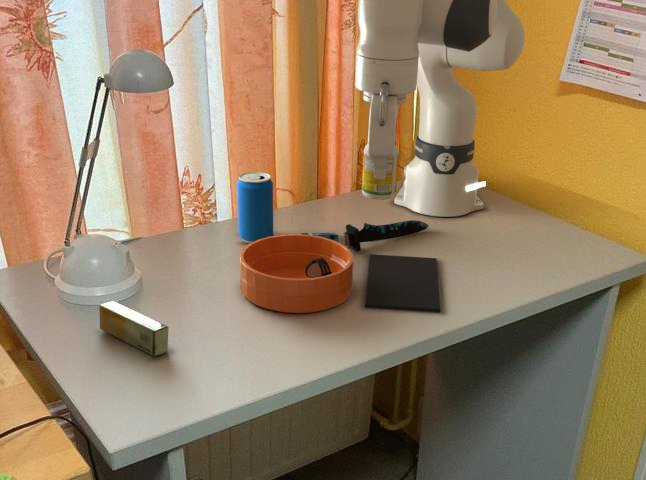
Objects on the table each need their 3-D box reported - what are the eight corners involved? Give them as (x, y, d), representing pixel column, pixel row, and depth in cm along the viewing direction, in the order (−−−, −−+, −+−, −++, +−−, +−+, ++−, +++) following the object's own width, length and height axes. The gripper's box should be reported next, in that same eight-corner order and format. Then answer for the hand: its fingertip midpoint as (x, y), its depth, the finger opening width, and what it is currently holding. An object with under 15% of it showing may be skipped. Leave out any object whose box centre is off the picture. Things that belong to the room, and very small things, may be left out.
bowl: (251, 263, 139) (250, 231, 136) (354, 269, 139) (356, 237, 135) (231, 311, 124) (230, 276, 120) (348, 318, 123) (350, 283, 120)
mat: (369, 257, 143) (369, 254, 143) (436, 261, 143) (436, 258, 143) (364, 307, 126) (365, 304, 126) (440, 312, 126) (440, 309, 126)
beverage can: (279, 241, 148) (279, 179, 142) (248, 248, 145) (247, 184, 138) (262, 230, 152) (261, 168, 146) (232, 236, 149) (230, 174, 143)
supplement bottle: (382, 203, 119) (386, 139, 114) (354, 194, 122) (356, 131, 117) (403, 194, 122) (408, 131, 117) (375, 185, 125) (379, 124, 120)
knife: (300, 258, 138) (303, 234, 136) (292, 252, 140) (294, 228, 138) (434, 243, 155) (438, 222, 153) (424, 238, 157) (429, 216, 155)
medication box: (169, 351, 112) (170, 326, 111) (155, 357, 110) (155, 331, 109) (113, 323, 118) (112, 299, 116) (98, 329, 116) (97, 303, 114)
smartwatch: (328, 281, 133) (329, 253, 131) (332, 295, 129) (332, 266, 126) (304, 281, 133) (304, 254, 130) (306, 295, 128) (307, 267, 126)
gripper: (407, 94, 104) (400, 195, 111) (408, 62, 121) (402, 151, 129) (359, 91, 104) (355, 192, 111) (367, 60, 121) (363, 149, 129)
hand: (380, 170), depth 120 cm, fingers closed on supplement bottle, 5 cm apart
